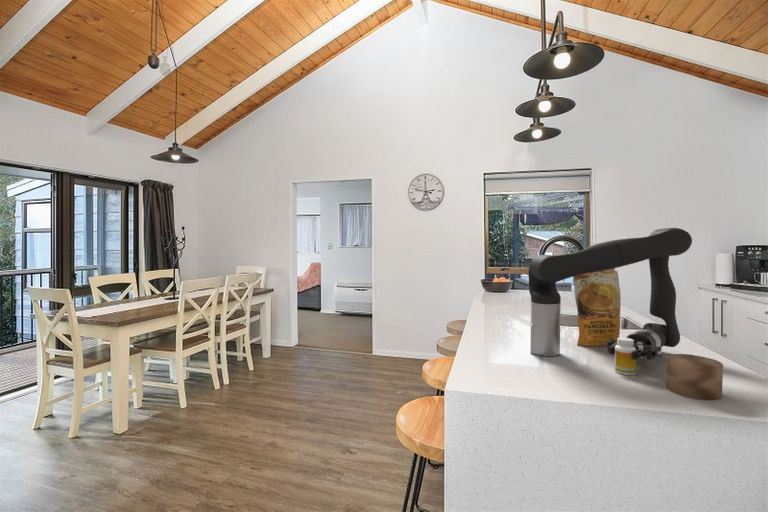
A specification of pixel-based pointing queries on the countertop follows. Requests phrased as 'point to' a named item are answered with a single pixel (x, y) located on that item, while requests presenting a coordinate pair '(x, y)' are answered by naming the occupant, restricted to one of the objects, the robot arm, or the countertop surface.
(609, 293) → the pancake mix bag
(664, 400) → the countertop surface
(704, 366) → the walnut block
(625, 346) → the supplement bottle
